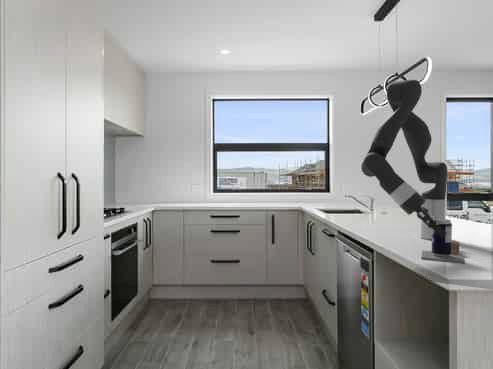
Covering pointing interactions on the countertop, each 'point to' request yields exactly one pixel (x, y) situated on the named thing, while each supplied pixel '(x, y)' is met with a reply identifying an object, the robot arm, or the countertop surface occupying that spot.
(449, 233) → the beverage can
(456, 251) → the walnut block
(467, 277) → the countertop surface
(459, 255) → the mat
